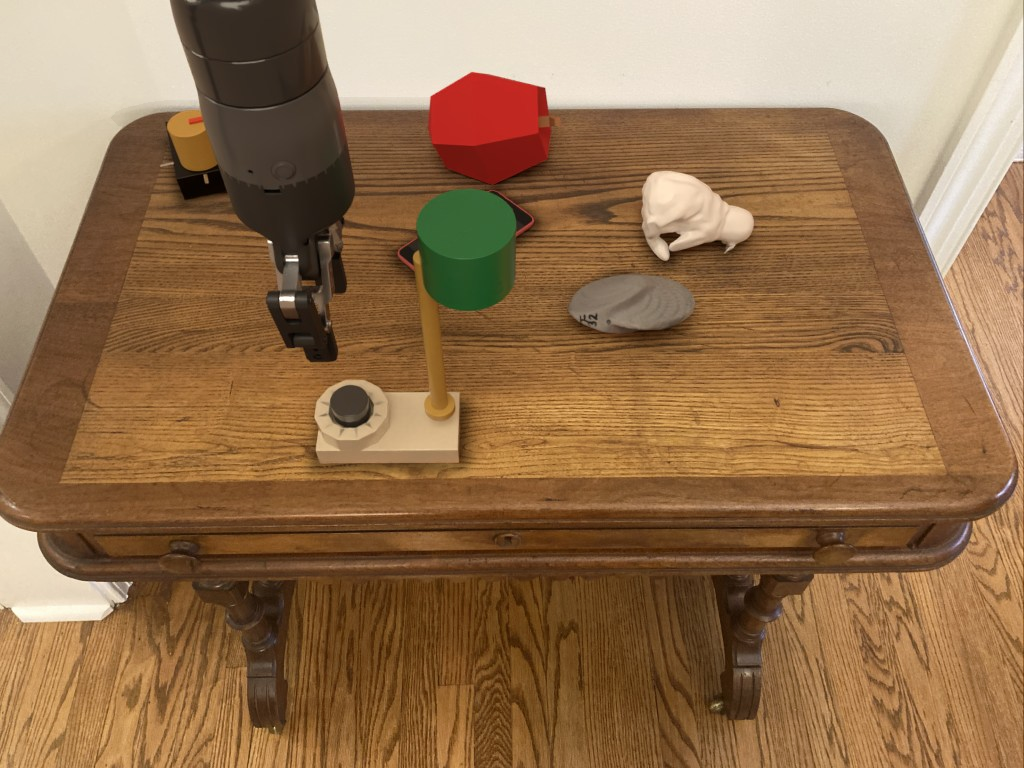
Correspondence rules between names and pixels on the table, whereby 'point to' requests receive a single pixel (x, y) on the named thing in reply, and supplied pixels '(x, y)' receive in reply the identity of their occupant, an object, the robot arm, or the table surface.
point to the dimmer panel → (195, 177)
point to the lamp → (460, 271)
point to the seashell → (631, 303)
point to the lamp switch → (350, 406)
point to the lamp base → (388, 430)
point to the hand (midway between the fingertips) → (328, 322)
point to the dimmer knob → (191, 141)
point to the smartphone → (522, 216)
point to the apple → (490, 126)
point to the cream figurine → (689, 214)
